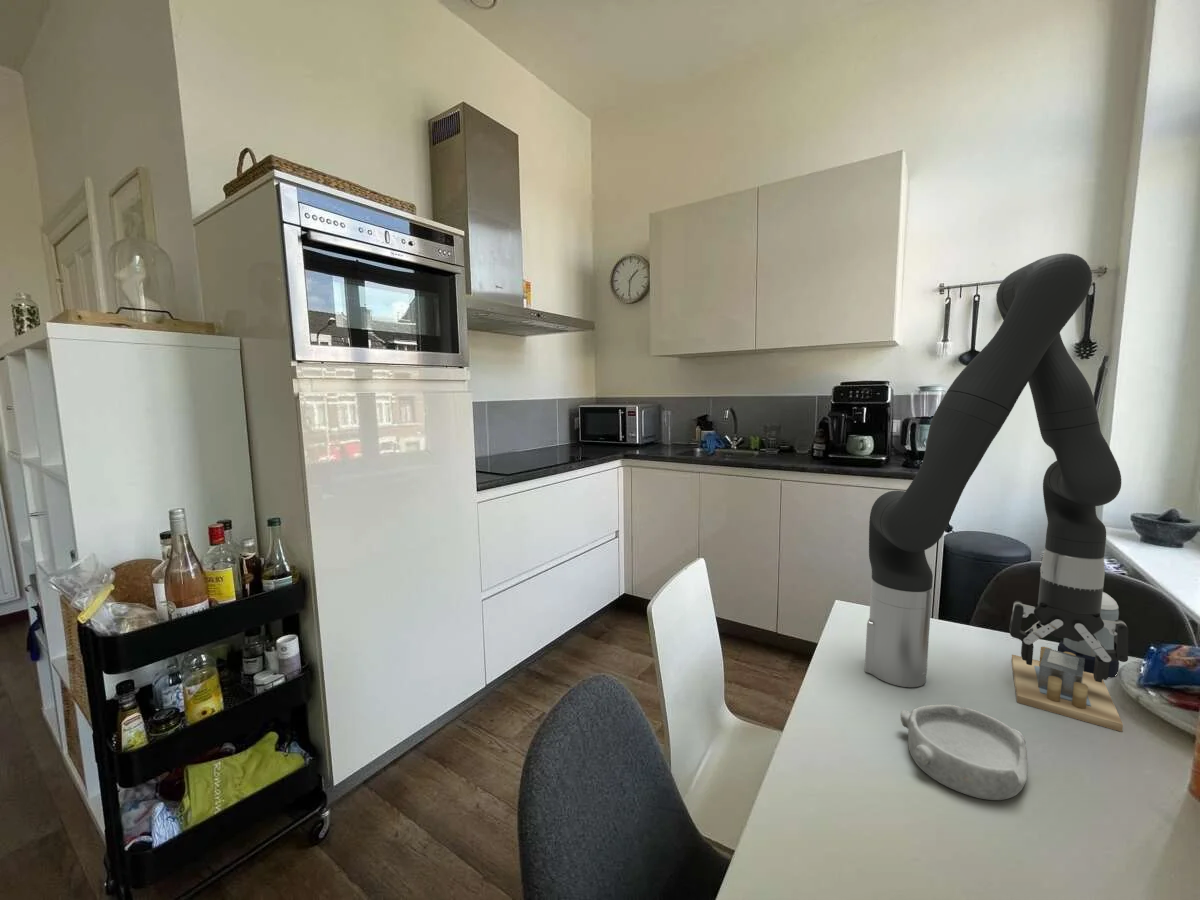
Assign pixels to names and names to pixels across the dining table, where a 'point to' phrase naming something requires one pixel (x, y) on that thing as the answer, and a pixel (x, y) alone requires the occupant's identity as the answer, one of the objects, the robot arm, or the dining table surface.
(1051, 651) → the block
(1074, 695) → the wooden peg board
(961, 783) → the dish
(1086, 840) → the dining table surface
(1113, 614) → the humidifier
